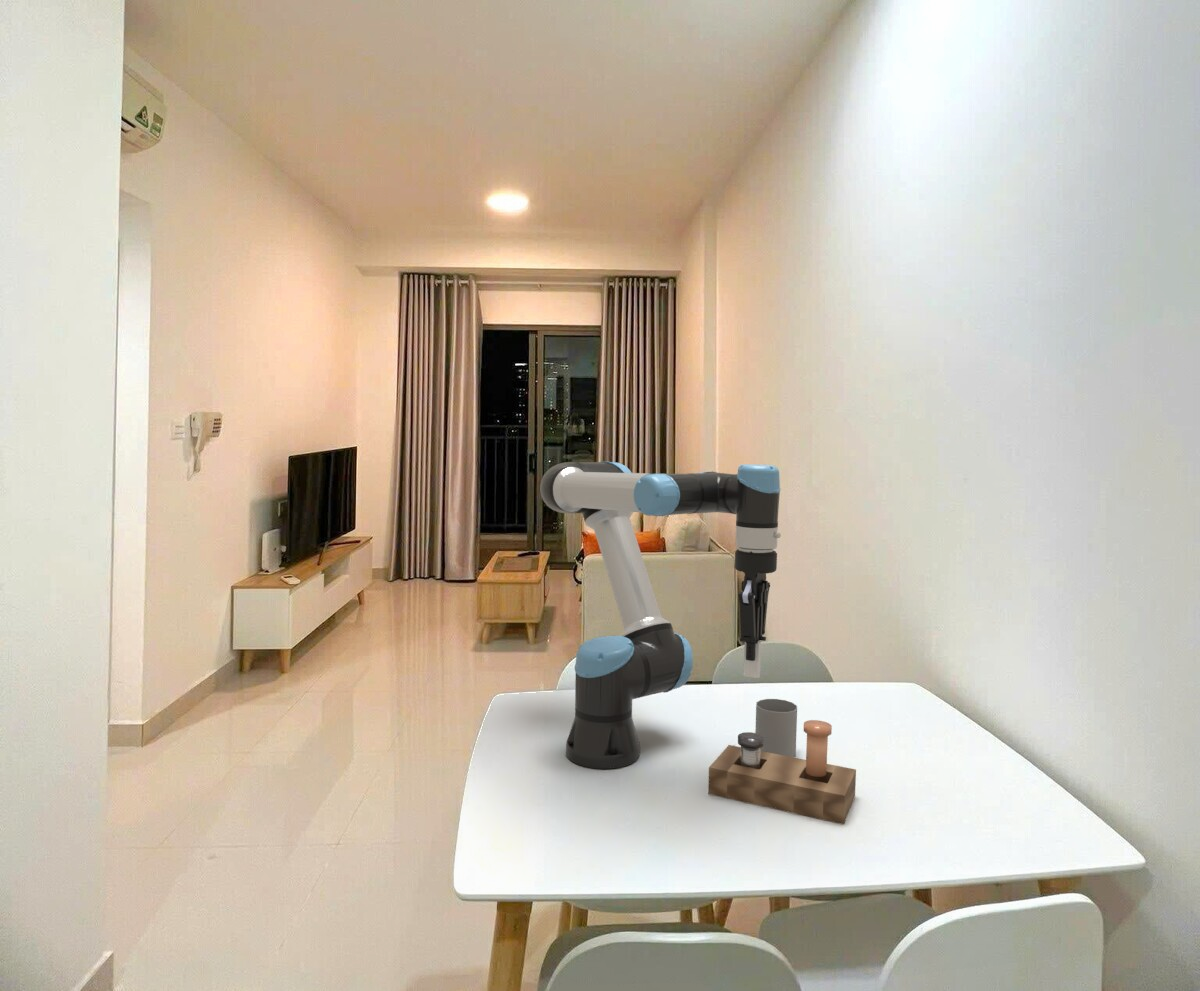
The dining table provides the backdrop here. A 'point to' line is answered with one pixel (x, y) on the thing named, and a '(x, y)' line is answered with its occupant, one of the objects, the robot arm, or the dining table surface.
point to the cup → (777, 726)
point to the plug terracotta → (817, 747)
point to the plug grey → (750, 749)
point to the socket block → (784, 785)
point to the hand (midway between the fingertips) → (751, 675)
